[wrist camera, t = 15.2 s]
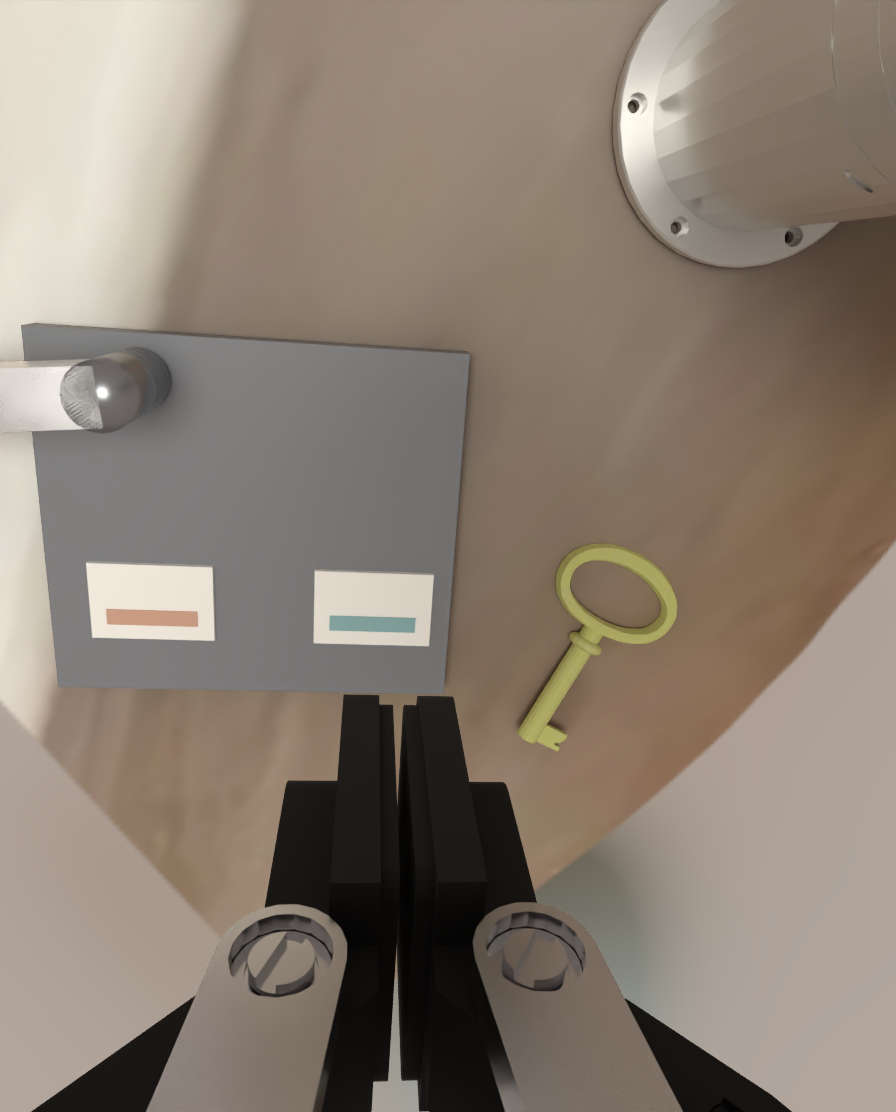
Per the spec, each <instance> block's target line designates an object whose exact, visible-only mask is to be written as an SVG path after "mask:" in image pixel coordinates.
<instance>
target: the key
mask: <svg viewBox="0 0 896 1112" xmlns="http://www.w3.org/2000/svg"><path fill="white" fill-rule="evenodd" d="M592 560H594V561H605V562H611V563H614V564H617V565H620V566H623V567H625V568H627V569H629V570H631V571H632V572H634V573H636V574H637V575H639V576H640V577H641V578H642V579H643V580H645V581H646V582H647V583H648V584H649V585H650V586H651V588H652V589H653V590H654V592H655V593H656V595H657V596H658V598H659V600H660V603H661V611H660V614H659V616H658V618H657V619H656V620H655V621H654V622H653V623H651V624H650V625H648V626H646V627H643V628H625V627H619V626H616V625H613V624H610V623H608V622H606V621H604V620H602V619H600V618H598V617H596V616H595V615H593V614H592V613H590V612H589V611H588V610H586V609H585V608H584V607H583V606H582V605H581V604H580V603H579V602H578V601H577V600H576V598H575V597H574V595H573V594H572V592H571V590H570V580H571V577H572V574H573V572H574V570H575V569H576V568H577V567H578V566H579V565H581V564H582V563H585V562H587V561H592ZM555 585H556V590H557V595H558V597H559V599H560V600H561V602H562V604H563V606H564V608H565V609H566V610H567V611H568V612H569V613H570V614H571V615H572V616H573V617H574V618H575V619H576V620H578V621H579V622H580V623H582V624H583V625H584V626H583V627H582V629H581V630H580V632H571V633H570V635H569V638H570V640H571V641H572V645H571V646H570V648H569V649H568V651H567V653H566V654H565V656H564V657H563V659H562V661H561V662H560V664H559V665H558V667H557V669H556V670H555V672H554V673H553V675H552V676H551V678H550V680H549V681H548V683H547V684H546V686H545V688H544V689H543V691H542V692H541V694H540V696H539V697H538V699H537V700H536V702H535V703H534V705H533V707H532V708H531V710H530V711H529V713H528V715H527V716H526V718H525V719H524V721H523V723H522V724H521V726H520V727H519V729H518V730H517V733H518V735H519V736H520V737H521V738H523V739H524V740H526V741H527V742H529V743H533V744H534V743H535V742H536V741H537V742H539V743H541V744H543V745H545V746H547V747H549V748H551V749H553V750H555V751H557V752H558V750H559V748H560V747H559V745H558V744H556V742H557V743H559V744H560V742H561V741H563V742H564V741H565V739H566V738H567V734H566V733H565V732H563V731H561V730H559V729H557V728H555V727H553V726H551V725H549V724H547V723H548V722H549V720H550V719H551V717H552V715H553V714H554V712H555V711H556V709H557V708H558V706H559V704H560V703H561V701H562V700H563V698H564V697H565V695H566V693H567V692H568V690H569V689H570V687H571V686H572V684H573V682H574V681H575V679H576V678H577V676H578V675H579V673H580V671H581V670H582V668H583V667H584V665H585V664H586V662H587V660H588V659H589V657H590V656H591V655H599V654H600V653H601V651H602V650H601V648H600V646H599V645H598V643H599V642H600V640H601V638H602V637H603V636H605V637H608V638H610V639H613V640H616V641H619V642H623V643H629V644H646V643H649V642H652V641H655V640H657V639H659V638H661V637H662V636H663V635H664V634H666V633H667V632H668V630H669V629H670V628H671V626H672V625H673V623H674V621H675V619H676V614H677V601H676V598H675V595H674V591H673V589H672V587H671V585H670V583H669V581H668V579H667V578H666V576H665V575H664V573H663V572H662V571H661V570H660V569H659V568H658V567H657V566H656V565H655V564H653V563H652V562H651V561H649V560H648V559H646V558H645V557H643V556H642V555H640V554H638V553H636V552H634V551H632V550H629V549H627V548H624V547H622V546H618V545H614V544H604V543H601V544H589V545H584V546H582V547H579V548H577V549H575V550H573V551H572V552H571V553H569V554H568V555H567V556H566V557H565V558H564V560H563V561H562V562H561V564H560V566H559V568H558V570H557V573H556V577H555Z"/></svg>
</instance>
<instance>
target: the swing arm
mask: <svg viewBox="0 0 896 1112" xmlns="http://www.w3.org/2000/svg"><path fill="white" fill-rule="evenodd" d="M170 387H171V377H170V373H169V370H168V368H167V366H166V364H165V363H164V361H163V360H162V359H161V358H160V357H159V356H158V355H156V354H155V353H153V352H152V351H150V350H147V349H144V348H140V347H130V348H126V349H123V350H119V351H116V352H113V353H109V354H106V355H103V356H99V357H96V358H93V359H75V360H43V361H12V362H0V432H22V431H49V430H75V429H85V430H87V431H90V432H93V433H103V434H104V433H111V432H114V431H117V430H119V429H121V428H122V427H124V426H126V425H127V424H129V423H131V422H132V421H134V420H135V419H137V418H139V417H140V416H142V415H144V414H145V413H147V412H149V411H150V410H152V409H154V408H155V407H157V406H158V405H160V404H161V403H162V402H163V401H164V400H165V399H166V397H167V396H168V394H169V391H170Z"/></svg>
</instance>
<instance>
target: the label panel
mask: <svg viewBox="0 0 896 1112" xmlns="http://www.w3.org/2000/svg"><path fill="white" fill-rule="evenodd" d="M21 329H22V339H23V349H24V358H25V361H43V360H75V359H93V358H96V357H99V356H103V355H106V354H109V353H113V352H116V351H119V350H123V349H126V348H130V347H140V348H144V349H147V350H150V351H152V352H153V353H155V354H156V355H158V356H159V357H160V358H161V359H162V360H163V361H164V363H165V364H166V366H167V368H168V370H169V373H170V377H171V387H170V391H169V394H168V396H167V397H166V399H165V400H164V401H163V402H162V403H161V404H160V405H158V406H157V407H155V408H154V409H152V410H150V411H149V412H147V413H145V414H144V415H142V416H140V417H139V418H137V419H135V420H134V421H132V422H131V423H129V424H127V425H126V426H124V427H122V428H121V429H119V430H117V431H114V432H111V433H104V434H103V433H93V432H90V431H87V430H85V429H75V430H49V431H32V436H33V445H34V455H35V465H36V474H37V484H38V494H39V503H40V513H41V523H42V532H43V542H44V552H45V562H46V571H47V581H48V591H49V600H50V610H51V620H52V629H53V639H54V649H55V658H56V668H57V678H58V687H92V688H144V689H196V690H248V691H300V692H353V693H405V694H444V681H445V668H446V656H447V643H448V630H449V617H450V604H451V591H452V578H453V565H454V552H455V540H456V527H457V514H458V501H459V488H460V475H461V462H462V449H463V437H464V424H465V411H466V398H467V385H468V372H469V359H470V354H469V353H468V352H466V351H452V350H437V349H422V348H406V347H391V346H376V345H361V344H345V343H330V342H315V341H299V340H284V339H269V338H253V337H238V336H223V335H207V334H192V333H177V332H161V331H146V330H131V329H115V328H100V327H85V326H70V325H54V324H39V323H33V324H26V325H21Z"/></svg>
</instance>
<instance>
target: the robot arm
mask: <svg viewBox="0 0 896 1112" xmlns="http://www.w3.org/2000/svg"><path fill="white" fill-rule="evenodd" d="M631 101H632V102H634V103H635V105H636V111H635V113H631V112H630V111H629V110H628V103H629V102H631ZM613 147H614V153H615V159H616V165H617V170H618V174H619V177H620V180H621V182H622V185H623V188H624V191H625V193H626V196H627V199H628V200H629V202H630V204H631V205H632V207H633V209H634V210H635V212H636V214H637V215H638V217H639V219H640V220H641V222H642V223H643V224H644V225H645V226H646V227H647V228H648V229H649V230H650V231H651V232H652V234H653V235H654V236H655V237H656V238H657V239H658V240H659V241H661V242H662V243H664V244H665V245H666V246H668V247H669V248H671V249H672V250H673V251H675V252H676V253H678V254H680V255H682V256H684V257H687V258H689V259H691V260H694V261H696V262H698V263H702V264H708V265H713V266H718V267H737V268H744V267H751V266H759V265H767V264H770V263H773V262H776V261H779V260H782V259H785V258H788V257H791V256H793V255H795V254H796V253H798V252H800V251H802V250H804V249H805V248H807V247H809V246H811V245H813V244H814V243H816V242H817V241H818V240H819V239H821V238H822V237H823V236H824V235H826V234H827V233H828V232H829V231H830V230H832V229H833V228H834V227H835V226H837V224H838V223H839V222H843V221H852V220H861V219H870V218H879V217H888V216H896V0H663V1H662V2H661V3H660V4H659V5H658V7H657V8H656V9H655V11H654V12H653V13H652V15H651V16H650V17H649V18H648V20H647V21H646V22H645V24H644V25H643V26H642V28H641V30H640V32H639V34H638V36H637V38H636V39H635V41H634V43H633V45H632V47H631V49H630V51H629V53H628V55H627V58H626V61H625V64H624V67H623V70H622V73H621V76H620V79H619V82H618V86H617V92H616V98H615V104H614V110H613ZM673 222H675V223H676V224H677V225H678V230H677V232H676V233H675V234H673V233H672V232H671V224H672V223H673ZM786 232H787V233H788V235H789V239H788V241H787V242H785V234H786ZM396 945H397V967H398V998H399V1027H400V1057H401V1079H402V1080H403V1081H404V1080H418V1097H419V1111H429V1112H792V1111H790V1110H789V1109H788V1108H787V1107H785V1106H784V1105H783V1104H782V1103H781V1102H779V1101H778V1100H777V1099H776V1098H774V1097H773V1096H772V1095H771V1094H769V1093H768V1092H766V1091H764V1090H763V1089H762V1088H760V1087H759V1086H757V1085H755V1084H754V1083H752V1082H751V1081H749V1080H748V1079H746V1078H745V1077H743V1076H742V1075H740V1074H739V1073H737V1072H736V1071H734V1070H733V1069H731V1068H730V1067H728V1066H727V1065H725V1064H724V1063H722V1062H721V1061H719V1060H717V1059H716V1058H715V1057H713V1056H712V1055H710V1054H709V1053H707V1052H706V1051H704V1050H703V1049H701V1048H700V1047H698V1046H696V1045H695V1044H693V1043H692V1042H690V1041H689V1040H687V1039H686V1038H684V1037H683V1036H681V1035H680V1034H678V1033H677V1032H675V1031H674V1030H672V1029H671V1028H669V1027H668V1026H666V1025H665V1024H663V1023H662V1022H660V1021H659V1020H657V1019H655V1018H654V1017H653V1016H651V1015H650V1014H648V1013H647V1012H645V1011H644V1010H642V1009H640V1008H639V1007H638V1006H636V1005H634V1004H633V1003H631V1002H630V1001H628V1000H627V999H625V998H624V997H623V995H622V993H621V991H620V989H619V987H618V985H617V983H616V981H615V979H614V977H613V976H612V973H611V972H610V970H609V968H608V966H607V964H606V962H605V960H604V958H603V956H602V954H601V952H600V950H599V948H598V946H597V944H596V942H595V941H594V939H593V938H592V937H591V935H590V934H589V932H588V931H587V930H586V928H585V927H584V926H583V925H582V924H581V923H579V922H578V921H577V920H576V919H574V918H573V917H572V916H571V915H569V914H567V913H565V912H563V911H561V910H559V909H556V908H555V907H552V906H547V905H543V904H539V903H537V901H536V897H535V893H534V889H533V886H532V882H531V878H530V874H529V870H528V866H527V862H526V858H525V854H524V851H523V847H522V843H521V839H520V835H519V831H518V827H517V823H516V820H515V816H514V812H513V808H512V804H511V800H510V796H509V792H508V789H507V786H506V784H505V783H504V782H469V778H468V773H467V768H466V762H465V757H464V751H463V746H462V741H461V735H460V730H459V725H458V719H457V714H456V708H455V703H454V699H453V697H445V696H418V697H417V704H416V705H404V707H403V719H402V736H401V753H400V770H399V787H398V804H397V792H396V768H395V745H394V721H393V705H379V695H344V698H343V711H342V725H341V739H340V752H339V766H338V779H337V781H287V784H286V788H285V793H284V799H283V805H282V811H281V817H280V822H279V828H278V834H277V840H276V845H275V851H274V857H273V863H272V868H271V874H270V880H269V886H268V891H267V897H266V903H265V908H262V909H258V910H257V911H255V912H253V913H251V914H249V915H247V916H245V917H243V918H241V919H240V920H239V921H237V922H236V923H235V924H234V925H233V926H232V927H230V928H229V929H228V930H227V931H226V933H225V934H224V936H223V937H222V939H221V940H220V942H219V944H218V945H217V947H216V949H215V952H214V954H213V956H212V959H211V961H210V963H209V966H208V968H207V970H206V973H205V975H204V978H203V980H202V982H201V984H200V987H199V989H198V991H197V994H196V996H194V997H193V998H191V999H190V1000H188V1001H187V1002H186V1003H184V1004H183V1005H181V1006H180V1007H179V1008H177V1009H176V1010H174V1011H173V1012H171V1013H170V1014H169V1015H167V1016H166V1017H165V1018H163V1019H162V1020H160V1021H159V1022H157V1023H156V1024H155V1025H153V1026H152V1027H150V1028H149V1029H147V1030H146V1031H145V1032H143V1033H142V1034H141V1035H139V1036H138V1037H136V1038H135V1039H133V1040H132V1041H130V1042H129V1043H128V1044H126V1045H125V1046H124V1047H122V1048H121V1049H119V1050H118V1051H116V1052H115V1053H114V1054H112V1055H111V1056H109V1057H108V1058H107V1059H105V1060H104V1061H102V1062H101V1063H99V1064H98V1065H97V1066H95V1067H94V1068H92V1069H91V1070H89V1071H88V1072H87V1073H85V1074H84V1075H82V1076H81V1077H80V1078H78V1079H77V1080H75V1081H74V1082H73V1083H71V1084H70V1085H68V1086H67V1087H66V1088H64V1089H63V1090H61V1091H60V1092H58V1093H57V1094H56V1095H54V1096H53V1097H51V1098H50V1099H49V1100H47V1101H46V1102H45V1103H43V1104H41V1105H40V1106H39V1107H37V1108H36V1109H35V1110H33V1111H32V1112H371V1111H372V1092H373V1082H375V1081H388V1072H389V1057H390V1040H391V1025H392V1009H393V993H394V992H393V991H394V977H395V961H396Z"/></svg>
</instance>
